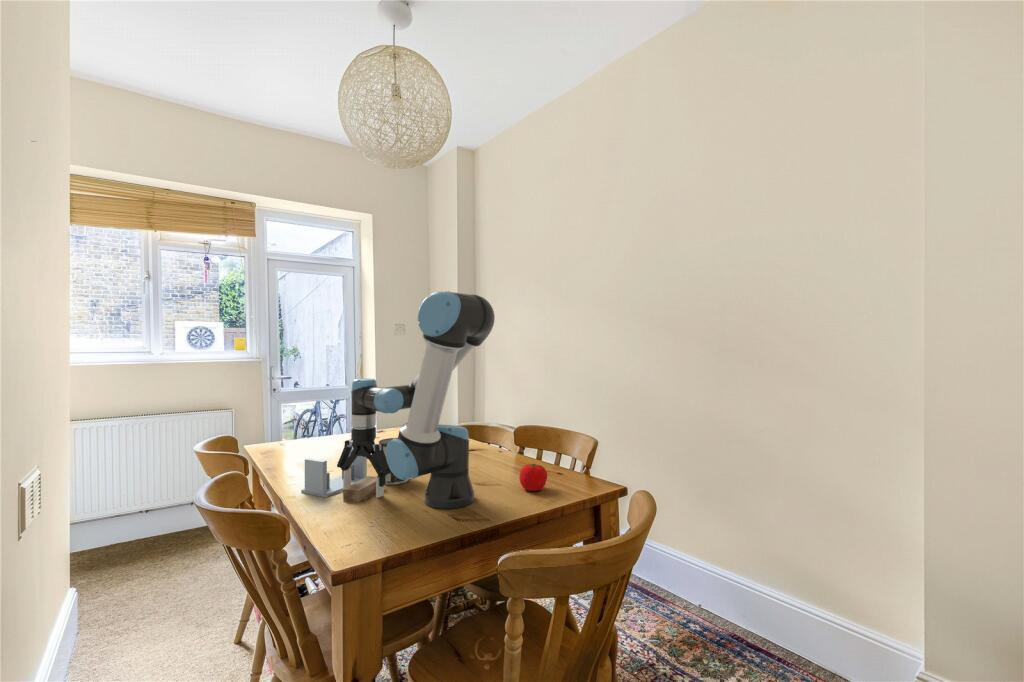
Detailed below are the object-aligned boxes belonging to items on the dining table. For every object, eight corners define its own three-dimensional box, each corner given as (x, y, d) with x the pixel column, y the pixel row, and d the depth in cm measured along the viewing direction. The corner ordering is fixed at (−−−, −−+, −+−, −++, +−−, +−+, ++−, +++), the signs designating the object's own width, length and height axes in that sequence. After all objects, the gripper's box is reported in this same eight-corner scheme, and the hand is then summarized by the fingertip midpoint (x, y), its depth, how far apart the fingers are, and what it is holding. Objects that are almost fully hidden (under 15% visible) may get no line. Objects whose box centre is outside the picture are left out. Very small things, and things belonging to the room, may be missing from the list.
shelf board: (382, 489, 154) (382, 477, 154) (359, 503, 141) (359, 490, 141) (367, 488, 156) (367, 476, 156) (343, 502, 142) (343, 489, 142)
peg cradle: (370, 480, 163) (370, 449, 163) (326, 497, 145) (326, 462, 145) (346, 476, 168) (346, 446, 167) (301, 492, 150) (301, 458, 150)
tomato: (532, 496, 147) (532, 469, 147) (512, 488, 155) (512, 463, 155) (553, 490, 153) (553, 464, 153) (532, 482, 161) (532, 458, 161)
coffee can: (411, 476, 168) (411, 437, 168) (404, 485, 158) (404, 443, 158) (383, 476, 168) (383, 437, 168) (374, 484, 158) (374, 443, 158)
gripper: (402, 428, 146) (401, 495, 146) (343, 421, 157) (342, 483, 157) (386, 432, 139) (386, 502, 140) (325, 425, 150) (325, 490, 150)
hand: (363, 493), depth 148 cm, fingers open, 13 cm apart
